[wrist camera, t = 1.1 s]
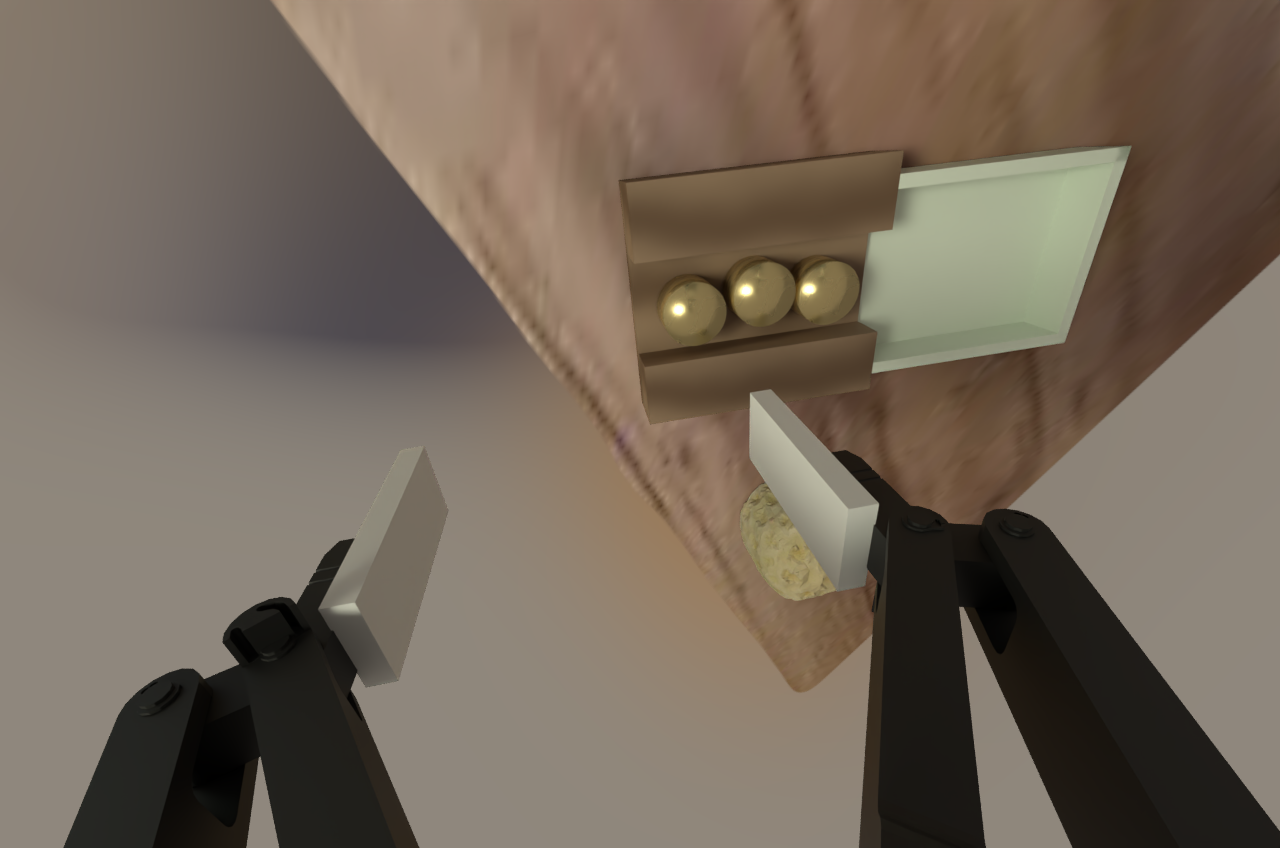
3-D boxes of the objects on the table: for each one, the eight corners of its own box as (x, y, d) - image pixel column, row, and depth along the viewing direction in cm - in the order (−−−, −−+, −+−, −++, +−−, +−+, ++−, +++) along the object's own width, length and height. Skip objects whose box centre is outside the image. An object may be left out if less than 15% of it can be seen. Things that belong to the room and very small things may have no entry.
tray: (866, 172, 32) (900, 173, 29) (1078, 146, 33) (1131, 145, 30) (845, 356, 38) (871, 373, 35) (1024, 328, 39) (1064, 342, 36)
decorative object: (732, 529, 49) (798, 619, 44) (710, 512, 40) (789, 622, 36) (808, 473, 48) (883, 559, 44) (802, 443, 40) (895, 546, 35)
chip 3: (785, 258, 32) (801, 266, 30) (842, 251, 33) (863, 257, 31) (782, 318, 34) (797, 328, 32) (836, 310, 35) (855, 320, 33)
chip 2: (721, 259, 32) (734, 267, 30) (781, 251, 32) (797, 258, 30) (722, 319, 34) (734, 330, 32) (778, 311, 34) (793, 322, 32)
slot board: (618, 180, 30) (626, 182, 27) (869, 151, 31) (903, 150, 28) (642, 402, 37) (650, 424, 34) (844, 370, 38) (869, 388, 35)
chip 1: (654, 277, 32) (661, 287, 29) (714, 270, 32) (726, 278, 30) (658, 337, 34) (665, 349, 31) (715, 329, 34) (726, 341, 32)
